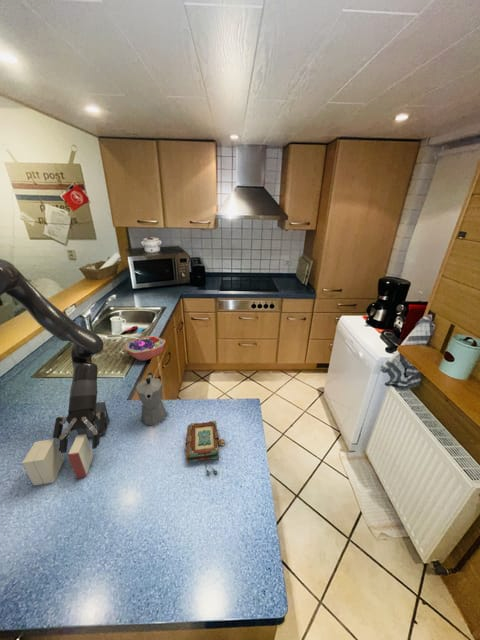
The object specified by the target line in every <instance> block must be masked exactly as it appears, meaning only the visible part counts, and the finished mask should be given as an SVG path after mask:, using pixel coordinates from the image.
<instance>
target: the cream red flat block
mask: <svg viewBox="0 0 480 640" xmlns="http://www.w3.org/2000/svg"><path fill="white" fill-rule="evenodd" d="M67 458H68V460H69V463H70V465H71V468H72V471H73V473H74V475H75V478H76V479H81V478H86V477H87V476H88V472H89V470H90V466H91V464H92V461H93V458H94V453H93V449H92V446H91V444H90V442H89V439H88V438H87V435H86V434H83V435H79V434H77V435H76V436H75V439H74V440H73V443H72V445H71V447H70V450H69V452H68V455H67Z"/></svg>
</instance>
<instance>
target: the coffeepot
mask: <svg viewBox="0 0 480 640" xmlns="http://www.w3.org/2000/svg"><path fill="white" fill-rule="evenodd" d="M135 390H136V393H137V396H138V398H139V401H140V402H141V420H142V422H143V423H144V425H148V426H154V425H155V426H156V425H157V424H159V423H161V422H163V421H164V419H165V418H166V416H167V410H166V409H165V406H164V403H163V401H162V398H163V382H162V381H161V379H160V378H157V377H153V373H152V372H148V373H147V378H145V379H142V380H141V381H139V382H138V384H137V385H136V387H135Z"/></svg>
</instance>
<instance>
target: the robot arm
mask: <svg viewBox="0 0 480 640" xmlns="http://www.w3.org/2000/svg"><path fill="white" fill-rule="evenodd" d="M5 294H6V295H7V296H9V298H10V297H11V298H12V299H13V300H14V301H16V302H17V303H18V304H20V306H22V307H23V308H24V309H25V310H26V311H27V312H28V314H29V315H30V316H31V317H32V318H33V319H34V321H35V322H37V324H38V325H39V326H40V327H42V328H43V330H45V331H46V332H48V333H49V334H51V335H52V336H54V337H55V338H56V339H58V340H59V341H62V342H71V343H72V345H71V349H70V358H71V364H72V368H73V371H72V379H71V380H72V381H71V385H70V391H69V399H68V400H69V401H68V414H67V416H57V417H56V418H55V422H54V427H53V434H52V439H57V440H59V445H58V448H59V452H60V453H61V454H66V453H67V451H68V442H69V441H68V440H69V439H68V438H69V436H70V435H71V434H72V433H73V432H74V431H77V429H85V428H89V429H90V430H91V431H92V432H93V434H94V436H93V437H92V441H91V442H92V443H91V450H94V449H97V448H98V446H99V445H100V438H101V436H100V434H101V433H102V432H104V431H106V432H107V430H108V427H107V413H108V412H107V413H106V412H101V413H96V402H97V403H98V401H97V400H98V370H99V369H98V365H97V363H95V362H93V359H92V358H93V356H95V355H97V354H100V353H101V352H102V351H103V349H104V341H103V339H102V337H100V336H99V335H98V334H97V333H95V332H94V331H92V330H90V329H89V328H86V327H85V326H82V325H80V324H77V323H76V322H75V321H74V320H73V319H72V318H70V317H69V316H68V315H67V314H66V313H64V312H63V311H62V310H61V309H59V308H58V307H56V305H54V304H53V303H52V302H51V301H50V300H48V299H47V298H46V297H45V296H44V295H43V294H42V293H41V292H40V291H39V290H37V289H36V287H35V286H34V285H33V284H31V282H30V281H29V280H28V279H27V278H26V276H24V275H23V273H22V272H21V271H20V270H18V268H17V267H16V266H14V264H12V263H11V262H10V261H9V260H6V259H3V258H0V297H1V296H2V295H5ZM96 417H98V419H100V429H98V427H97V425H96V424H95V423H94V420H95V419H96ZM65 423H67V424H68V425H66V427H65V429H64V425H65ZM63 429H64V430H63Z"/></svg>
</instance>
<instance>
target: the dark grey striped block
mask: <svg viewBox="0 0 480 640" xmlns="http://www.w3.org/2000/svg"><path fill="white" fill-rule="evenodd" d="M101 412H106V413H107V428H108V426H109V424H110V416H109V414H108V408H107V405H106V402H105V401H101V402H100V401H99V402H98V401H97V402H96V413H101ZM94 423H95V424H96V425H97V427H98V429H100V419H98V417H96V419H95V420H94ZM76 431H77V435H83V434H86V435H87V438H93V436H94V434H93V432H92V431H91V430H90V429H89V428H85V429H77V430H76ZM106 432H107V430H106V431H104V432H102V433H101V434H100V437H103V436H105V435H106Z"/></svg>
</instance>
